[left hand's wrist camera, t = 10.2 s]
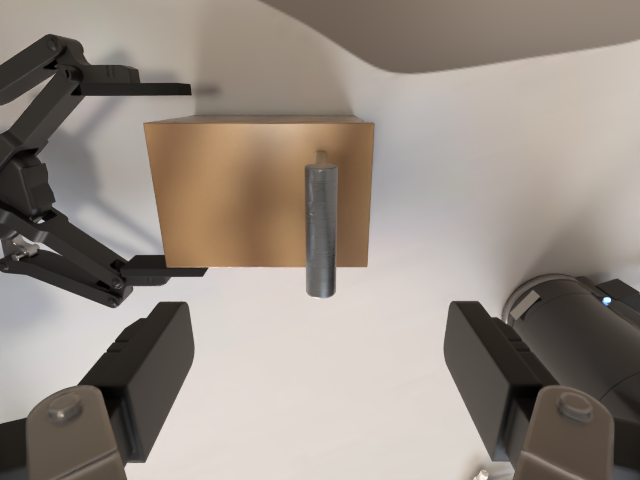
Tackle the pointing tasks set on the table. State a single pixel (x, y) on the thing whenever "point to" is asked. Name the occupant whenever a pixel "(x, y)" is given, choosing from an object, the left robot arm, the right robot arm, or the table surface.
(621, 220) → the table surface
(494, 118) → the table surface
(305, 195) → the wooden door panel
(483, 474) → the spray bottle
